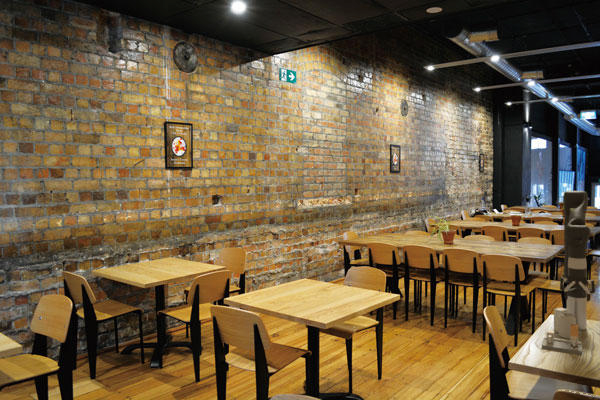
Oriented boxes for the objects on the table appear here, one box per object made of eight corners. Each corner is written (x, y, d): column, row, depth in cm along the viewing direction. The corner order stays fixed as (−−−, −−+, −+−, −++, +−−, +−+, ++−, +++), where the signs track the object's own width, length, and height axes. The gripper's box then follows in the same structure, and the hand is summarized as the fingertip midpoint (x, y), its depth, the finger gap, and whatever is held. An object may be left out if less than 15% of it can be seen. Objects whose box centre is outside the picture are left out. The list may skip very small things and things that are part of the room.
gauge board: (541, 348, 213) (541, 334, 213) (543, 340, 223) (543, 327, 223) (582, 354, 204) (582, 340, 204) (582, 346, 214) (582, 333, 214)
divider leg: (570, 347, 208) (570, 328, 208) (570, 342, 214) (570, 323, 214) (577, 348, 206) (577, 329, 206) (578, 343, 213) (578, 324, 212)
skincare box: (561, 333, 233) (561, 311, 232) (553, 331, 236) (553, 309, 236) (568, 331, 235) (568, 309, 235) (560, 329, 239) (560, 307, 239)
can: (571, 334, 230) (571, 312, 230) (578, 340, 223) (578, 316, 222) (556, 334, 231) (556, 312, 231) (563, 339, 224) (563, 316, 223)
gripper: (595, 266, 211) (594, 300, 212) (560, 264, 219) (560, 296, 219) (595, 269, 204) (594, 304, 205) (559, 266, 212) (559, 300, 213)
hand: (577, 300), depth 212 cm, fingers open, 8 cm apart
